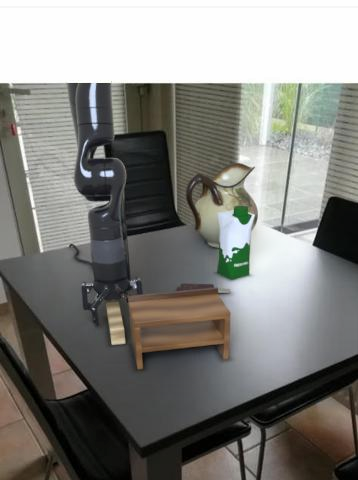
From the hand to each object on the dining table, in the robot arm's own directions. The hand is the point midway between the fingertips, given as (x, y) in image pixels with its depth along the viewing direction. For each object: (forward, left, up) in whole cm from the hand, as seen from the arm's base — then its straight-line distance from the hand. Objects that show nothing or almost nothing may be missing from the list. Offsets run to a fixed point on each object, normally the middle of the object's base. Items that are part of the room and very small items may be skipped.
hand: (115, 322), depth 116 cm
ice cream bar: (-17, +26, -2) cm, 31 cm away
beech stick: (0, 0, -2) cm, 2 cm away
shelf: (+14, +13, -2) cm, 19 cm away
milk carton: (-29, +38, -2) cm, 48 cm away
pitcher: (-58, +43, -2) cm, 72 cm away
